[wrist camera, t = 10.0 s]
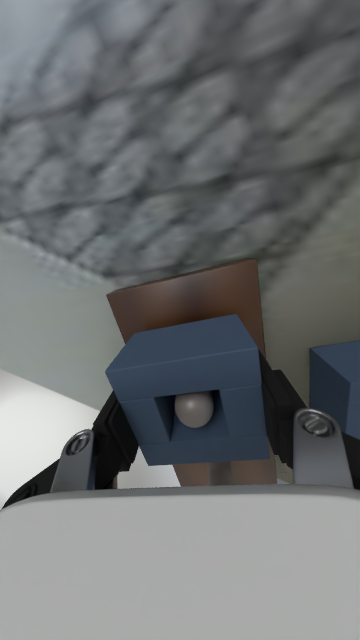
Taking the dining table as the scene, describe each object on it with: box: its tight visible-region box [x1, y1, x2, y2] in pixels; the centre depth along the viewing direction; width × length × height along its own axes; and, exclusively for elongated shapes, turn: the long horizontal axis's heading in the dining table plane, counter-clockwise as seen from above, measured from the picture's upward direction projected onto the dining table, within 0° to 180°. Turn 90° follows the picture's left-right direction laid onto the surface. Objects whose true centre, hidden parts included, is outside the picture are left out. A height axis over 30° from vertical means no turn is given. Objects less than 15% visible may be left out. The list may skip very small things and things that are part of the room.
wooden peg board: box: [106, 258, 277, 487], centre depth 13 cm, size 10×22×7 cm, turn 14°
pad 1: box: [105, 314, 270, 466], centre depth 10 cm, size 7×7×4 cm
